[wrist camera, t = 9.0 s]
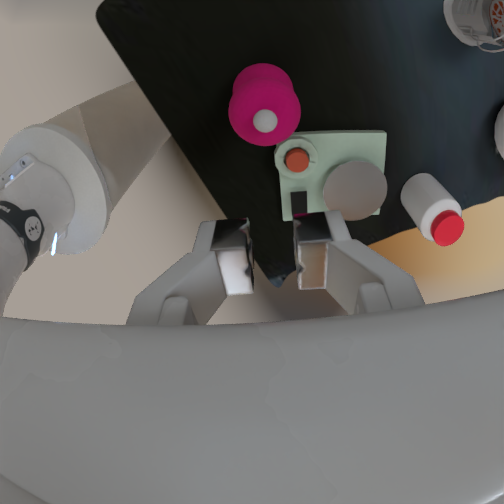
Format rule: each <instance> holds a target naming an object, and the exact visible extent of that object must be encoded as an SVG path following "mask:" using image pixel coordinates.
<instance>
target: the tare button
mask: <svg viewBox="0 0 504 504" xmlns="http://www.w3.org/2000/svg"><path fill="white" fill-rule="evenodd" d="M286 164H287V167H288V168H289V170H291V171H292V172H296V173H299V172H302V171H304V170H305V169H306V168H307V167H308V165H309V159H308V157H307V154H306V153H305V151H303V150H302V149H298V148H295V149H292V150H290V151H289V152H288V153H287V155H286Z"/></svg>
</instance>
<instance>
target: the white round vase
mask: <svg viewBox="0 0 504 504" xmlns="http://www.w3.org/2000/svg"><path fill="white" fill-rule="evenodd" d="M494 138H495V142H496V146H497V149H498V151H499V153H500V154H501V156H502V157H503V159H504V105H503V107H502V108H501V110H500V112H499V113H498V115H497V119H496V122H495V136H494Z"/></svg>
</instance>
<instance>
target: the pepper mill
mask: <svg viewBox="0 0 504 504" xmlns="http://www.w3.org/2000/svg"><path fill="white" fill-rule="evenodd" d="M228 110H229V119H230V123H231V125H232V127H233V129H234V130H235V132H236V133H237V134H238V135H239V136H240V137H241V138H243V139H244V140H246V141H248V142H250V143H252V144H255V145H260V146H271V145H274V144H278V143H280V142H282V141H284V140H286V139H287V138H289V137H290V136H291V135H292V134H293V132H294V131H295V129H296V128H297V126H298V123H299V120H300V115H301V109H300V103H299V100H298V98H297V96H296V94H295V93H294V91H293V85H292V82H291V80H290V78H289V76H288V75H287V74H286V73H285V72H284V71H283V70H282V69H280V68H279V67H277V66H275V65H271V64H266V63H259V64H254V65H251V66H249V67H247V68H245V69H244V70H243V71H241V72H240V73H239V75H238V76H237V77H236V79H235V82H234V84H233V96H232V98H231V100H230V103H229V109H228Z"/></svg>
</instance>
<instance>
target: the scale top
mask: <svg viewBox="0 0 504 504" xmlns="http://www.w3.org/2000/svg"><path fill="white" fill-rule="evenodd" d="M386 194H387V182H386V178H385V176H384V174H383V172H382V171H381V170H380V169H379V168H378V167H377V166H376V165H374V164H373V163H370V162H368V161H364V160H352V161H348V162H345V163H343V164H341V165H339V166H337V167H336V168H335V169H334V170H333V171H332V172H331V173H330V174H329V175H328V177H327V179H326V180H325V183H324V186H323V199H324V203H325V205H326V207H327V209H328V210H329V211H331V210H339V211H340V212H341V214H342V216H343V219H344V220H360V219H363V218H366V217H368V216H370V215H372V214H373V213H374V212H376V211H377V210H378V209H379V208H380V206H381V205H382V203H383V202H384V200H385V197H386ZM290 196H291V212H292V214H302V213H308V209H307V191H298V192H290Z"/></svg>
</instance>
